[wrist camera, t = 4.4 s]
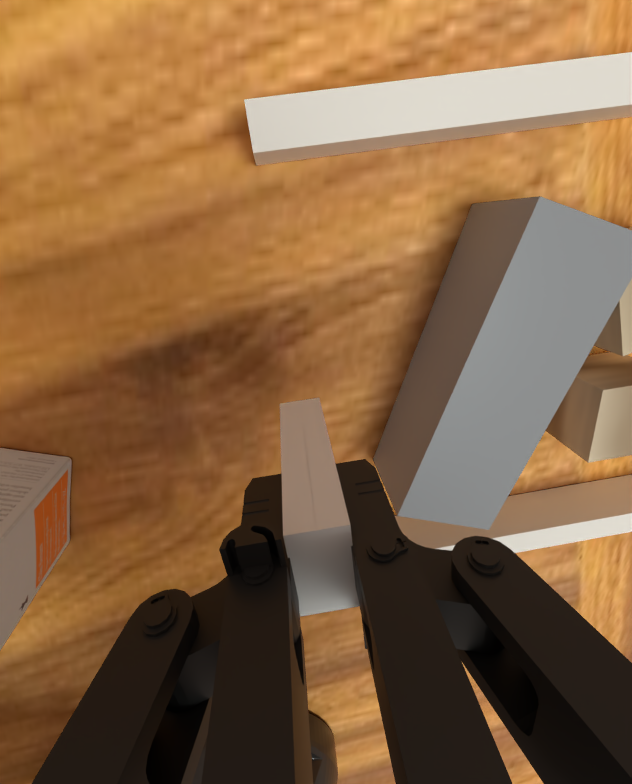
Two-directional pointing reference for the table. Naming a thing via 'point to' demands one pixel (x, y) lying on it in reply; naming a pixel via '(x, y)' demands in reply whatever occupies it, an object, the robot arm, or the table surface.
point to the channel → (451, 122)
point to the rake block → (499, 355)
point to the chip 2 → (619, 326)
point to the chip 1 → (597, 409)
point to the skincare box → (30, 527)
